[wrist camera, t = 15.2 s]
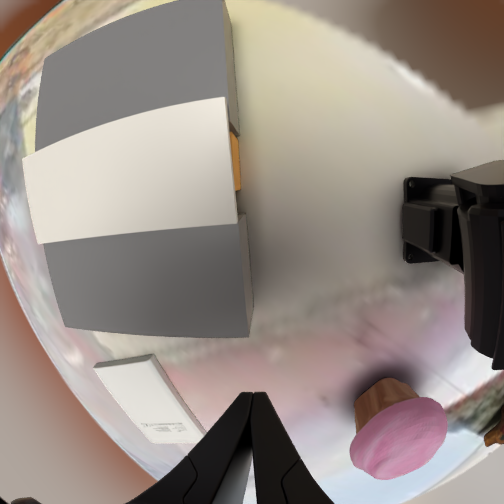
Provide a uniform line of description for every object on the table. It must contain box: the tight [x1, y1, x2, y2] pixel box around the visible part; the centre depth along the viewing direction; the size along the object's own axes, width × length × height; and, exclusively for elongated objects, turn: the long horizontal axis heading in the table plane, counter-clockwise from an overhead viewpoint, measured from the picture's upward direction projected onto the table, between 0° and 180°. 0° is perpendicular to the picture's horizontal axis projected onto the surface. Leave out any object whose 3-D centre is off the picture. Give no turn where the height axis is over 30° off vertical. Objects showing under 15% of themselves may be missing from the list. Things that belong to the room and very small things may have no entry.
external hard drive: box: [93, 354, 207, 444], centre depth 24 cm, size 2×8×12 cm
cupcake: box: [350, 378, 448, 480], centre depth 17 cm, size 9×9×10 cm
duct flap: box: [22, 97, 238, 244], centre depth 14 cm, size 15×6×1 cm, turn 94°
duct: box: [35, 0, 254, 338], centre depth 16 cm, size 15×22×4 cm, turn 4°
